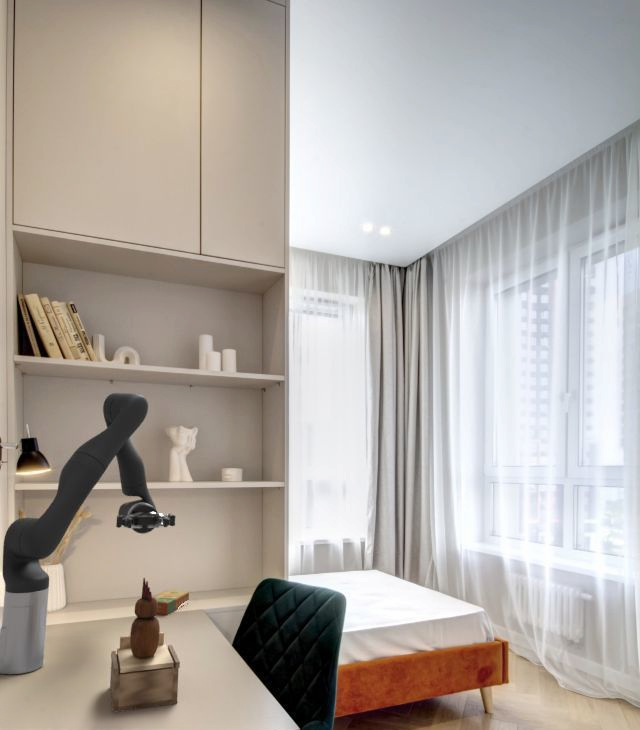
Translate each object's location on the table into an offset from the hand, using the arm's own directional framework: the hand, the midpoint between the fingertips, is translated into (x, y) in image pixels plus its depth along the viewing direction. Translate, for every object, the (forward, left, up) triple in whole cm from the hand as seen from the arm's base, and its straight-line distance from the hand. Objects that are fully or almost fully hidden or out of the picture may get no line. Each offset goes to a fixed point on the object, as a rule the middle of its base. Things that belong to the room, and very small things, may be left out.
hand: (148, 523), depth 144 cm
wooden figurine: (-2, -20, -25) cm, 32 cm away
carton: (+12, +50, -33) cm, 61 cm away
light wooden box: (-1, -20, -32) cm, 38 cm away
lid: (-1, -20, -25) cm, 32 cm away
